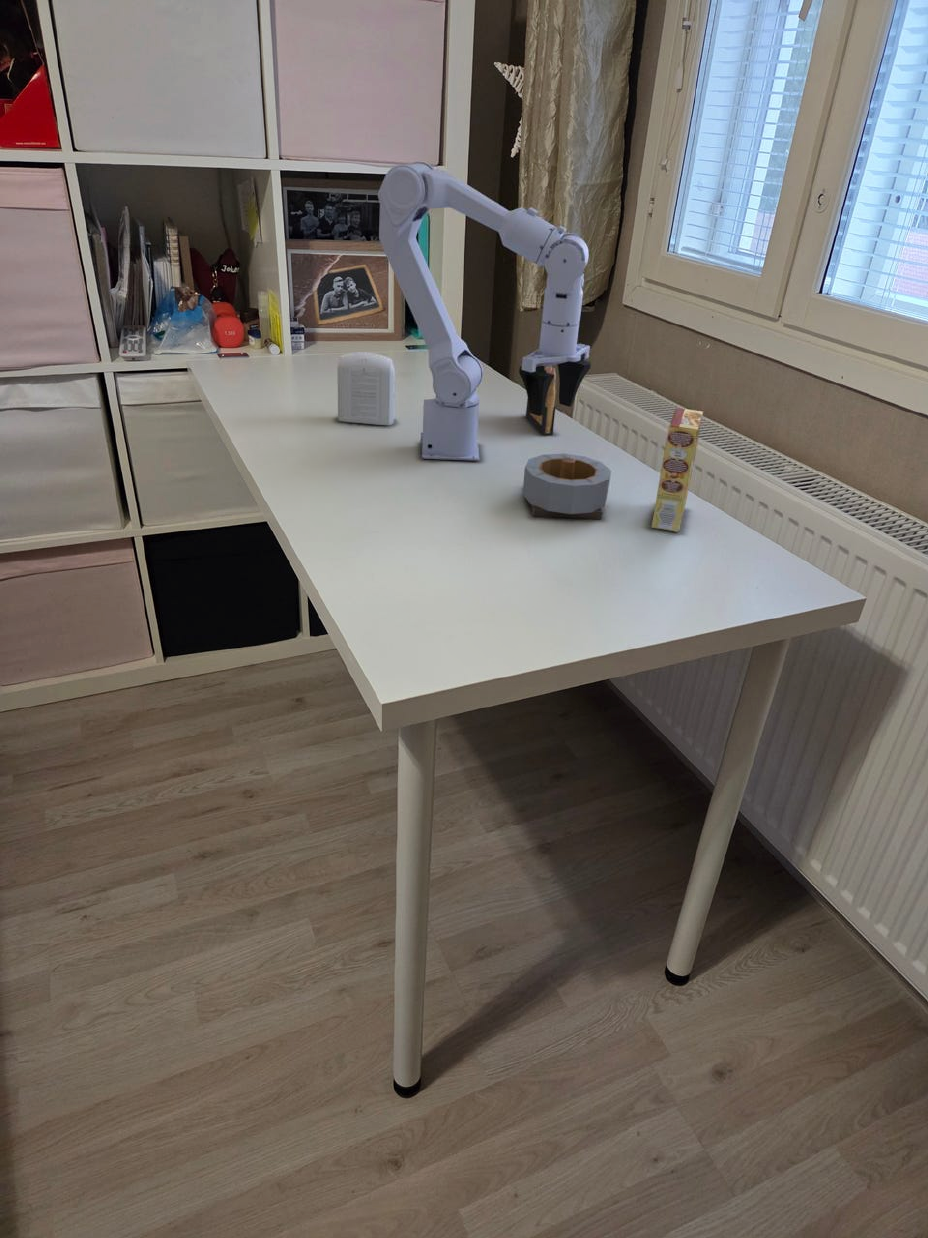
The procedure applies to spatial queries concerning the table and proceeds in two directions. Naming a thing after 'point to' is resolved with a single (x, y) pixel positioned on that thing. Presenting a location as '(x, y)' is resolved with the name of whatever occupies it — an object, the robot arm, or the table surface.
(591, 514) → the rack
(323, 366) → the table surface
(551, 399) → the ammunition clip
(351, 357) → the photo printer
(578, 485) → the tape roll
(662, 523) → the candy box
